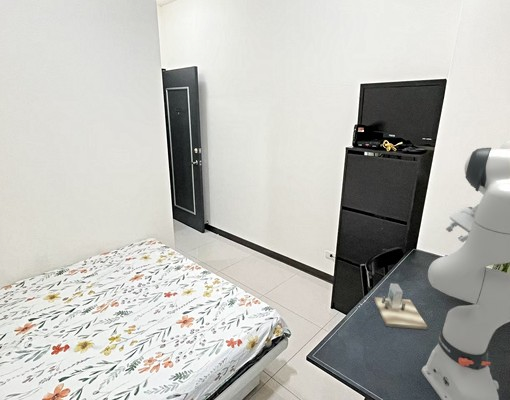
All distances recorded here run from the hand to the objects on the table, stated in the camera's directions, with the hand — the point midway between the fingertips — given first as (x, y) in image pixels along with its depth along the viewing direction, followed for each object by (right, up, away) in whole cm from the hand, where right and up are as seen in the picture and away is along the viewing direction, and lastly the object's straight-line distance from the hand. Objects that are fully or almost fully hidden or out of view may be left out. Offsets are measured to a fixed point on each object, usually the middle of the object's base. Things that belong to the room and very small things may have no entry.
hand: (453, 235), depth 119 cm
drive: (-24, -30, +3) cm, 38 cm away
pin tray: (-23, -33, 0) cm, 40 cm away
